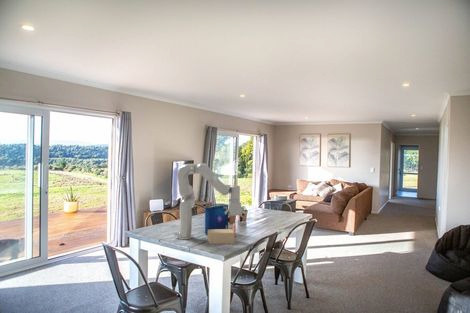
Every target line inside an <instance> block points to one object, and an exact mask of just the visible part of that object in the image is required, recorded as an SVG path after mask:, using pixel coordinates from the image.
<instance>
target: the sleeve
mask: <svg viewBox="0 0 470 313" xmlns="http://www.w3.org/2000/svg"><path fill="white" fill-rule="evenodd" d="M234 236H235V237H236V232H235V233H234V231H233V228H228V229H211V230H208V235H207V242H208V244H210V245H211V244H234V243H235V241H234Z"/></svg>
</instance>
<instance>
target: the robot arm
mask: <svg viewBox="0 0 470 313" xmlns="http://www.w3.org/2000/svg"><path fill="white" fill-rule="evenodd" d="M195 174H196V175H197V174H199V175H200V176H202V177H203V179H205V180H206V181H207V182H209V184H210V185H211V186H212V187H213V189H215V190H216V191H217V192H218V193H219V194H221V195H223V196H228V194H229V195H230V198H229V199H228V203H229V204H228V210H227V211H225V212H224V213H225V215H226V216H227V217H228V224H230V223H231V218H230V217H231V216H240V217H239V222H240V223H242V222H243V217H244V216H245V215H246V210H243V209H242V202H241V200H240V199H241V187H240V185H239V184H238V185H236V184H233V185H232V184H225V183H223V182H222V181H221V180H220V178H219V177H218V175H217V173H216V172H214V171H213V170H212V169H211V168H210V167H209V165H208V164H207V163H206V162H205V163H203V162H202V163H187V164H183V165H182V166H180V167H179V169H178V171H177V184H178V192H179V196H180V197H182V198H183V199H182V200H181V202H180V203H179V232H178V231H177V232H173V235H174V236H177V238H178V239H181V240H190V239H193V238H194V234H192V227H193V226H192V224H193V220H192V219H193V211H192V209H193V208H194V207H195V205H196V199H195V193H194V192H195V191H194V188H193V186H192V185H191V184H190V181H189V178H188V176H189V175H195ZM227 212H228V215H227Z"/></svg>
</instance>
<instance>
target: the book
mask: <svg viewBox="0 0 470 313" xmlns="http://www.w3.org/2000/svg"><path fill="white" fill-rule="evenodd" d="M227 210H229V204H226V203H216V204H211V205H206V206H204V234H206V235H207V236H208V230H211V229H229V222H228V217H227V216H226V215H225V213H224V212H225V211H227ZM228 214H229V212H227V215H228Z"/></svg>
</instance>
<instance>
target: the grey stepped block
mask: <svg viewBox="0 0 470 313" xmlns="http://www.w3.org/2000/svg"><path fill="white" fill-rule="evenodd" d="M236 226H237V225H236V224H235V223H234V222H233V223H232V230H233V231H234V233H235V234H236ZM235 240H236V235H235V236H234V242H235Z"/></svg>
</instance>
